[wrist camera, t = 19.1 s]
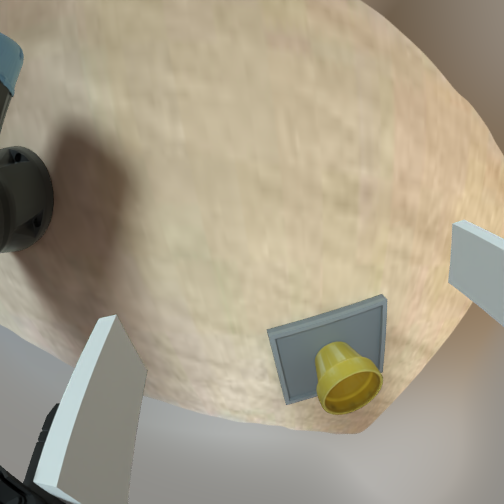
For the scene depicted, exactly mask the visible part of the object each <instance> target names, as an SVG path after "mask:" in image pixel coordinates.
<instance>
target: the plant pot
mask: <svg viewBox="0 0 504 504" xmlns="http://www.w3.org/2000/svg"><path fill="white" fill-rule="evenodd" d="M315 366H316V372H317V378H318V384H317V388H316V391H317V395H318V398H319V401H320V403H321V405H322V407H323V409H324V410H325V411H326V412H328V413H330V414H334V415H342V414H347V413H351V412H353V411H356V410H358V409H360V408H362V407H363V406H365V405H366V404H368V403H369V402H370V401H371V400H372V399H373V398H374V397H375V396H376V395H377V394H378V393H379V391H380V389H381V387H382V384H383V377H382V374H381V373H380V371H379V370H378V368H377V367H376V365H375V364H374V363H373V362H372V361H371V360H370V359H368V358H366V357H362V356H361V355H360V354H358V353H357V352H356V351H355V350H354V349H353V348H351V347H350V346H349V345H348V344H347V343H345V342H341V341H337V342H332V343H329V344H327V345H326V346H324V347H323V348H322V349H320V351H319V352H318V353H317V355H316V357H315Z"/></svg>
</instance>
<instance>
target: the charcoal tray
mask: <svg viewBox="0 0 504 504" xmlns="http://www.w3.org/2000/svg"><path fill="white" fill-rule="evenodd" d="M386 320H387V299H386V298H385V297H384V296H383V295H382V294H381V295H378V296H375V297H372V298H369V299H366V300H364V301H361V302H358V303H355V304H352V305H349V306H345V307H342V308H339V309H336V310H333V311H330V312H326V313H323V314H320V315H317V316H313V317H310V318H307V319H303V320H300V321H296V322H293V323H289V324H286V325H282V326H278V327H275V328H271V329H267V333H268V336H269V340H270V344H271V348H272V352H273V356H274V360H275V364H276V368H277V372H278V376H279V380H280V383H281V387H282V391H283V395H284V399H285V402H286V405H288V404H292V403H296V402H299V401H302V400H306V399H309V398H312V397H316V396H318V395H317V391H316V388H317V384H318V378H317V372H316V366H315V357H316V355H317V353H318V352H319V351H320V349H322V348H323V347H324V346H326V345H327V344H329V343H332V342H337V341H341V342H345V343H347V344H348V345H349V346H350V347H351V348H353V349H354V350H355V351H356V352H357V353H358V354H360V355H361V356H362V357H366V358H368V359H370V360H371V361H372V362H373V363H374V364H375V365H376V367H377V368H378V370H379V371H380V373H382V372H383V363H384V351H385V338H386Z"/></svg>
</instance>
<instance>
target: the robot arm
mask: <svg viewBox="0 0 504 504" xmlns="http://www.w3.org/2000/svg"><path fill="white" fill-rule="evenodd" d="M23 60H24V55H23V51H22V49H21V48H20V46H19V45H18V44H17V43H16V42H15V41H13V40H12V39H11V38H9V37H7V36H6V35H4V34H2V33H0V133H1V129H2V125H3V122H4V119H5V116H6V112H7V109H8V106H9V103H10V100H11V98H12V97H13V96H14V88H15V84H16V81H17V79H18V76H19V73H20V70H21V68H22V65H23ZM52 211H53V189H52V184H51V180H50V177H49V174H48V171H47V169H46V167H45V165H44V164H43V162H42V161H41V159H40V158H39V157H38V156H37V155H36V154H35V153H34V152H32V151H31V150H29V149H27V148H25V147H21V146H13V147H7V148H3V149H0V253H5V252H13V251H20V250H23V249H25V248H28V247H29V246H31V245H32V244H33V243H35V242H36V241H37V240H39V239H40V238H41V237H42V235H43V234H44V233H45V231H46V229H47V227H48V225H49V223H50V220H51V216H52ZM448 283H450V284H451V285H452V286H454V287H455V288H456V289H458V290H459V291H460V292H462V293H463V294H464V295H465V296H467V297H468V298H469V299H470V300H472V301H473V302H474V303H476V304H477V305H478V306H479V307H481V308H482V309H483V310H484V311H485V312H487V313H488V314H489V315H490V316H491V317H493V318H494V319H495V320H496V321H497V322H499V323H500V324H501V325H502V326H503V327H504V239H503V238H501V237H499V236H497V235H495V234H493V233H491V232H489V231H487V230H485V229H483V228H481V227H479V226H476V225H474V224H472V223H470V222H468V221H466V220H462V221H459V222H456V223H453V224H452V245H451V259H450V270H449V280H448ZM147 371H148V370H147V369H146V367H145V365H144V364H143V362H142V360H141V359H140V357H139V355H138V353H137V352H136V350H135V348H134V346H133V344H132V343H131V341H130V339H129V337H128V335H127V333H126V331H125V330H124V328H123V326H122V324H121V322H120V320H119V318H118V316H117V314H116V315H112V316H107V317H103V318H99V320H98V321H97V323H96V325H95V327H94V329H93V331H92V333H91V335H90V337H89V339H88V342H87V344H86V346H85V348H84V350H83V352H82V354H81V356H80V358H79V360H78V363H77V365H76V367H75V369H74V372H73V374H72V376H71V378H70V381H69V383H68V385H67V388H66V390H65V392H64V395H63V397H62V400H61V402H60V403H59V404H56V405H55V406H54V408H53V409H52V410H51V411H50V413H49V414H48V415H47V417H46V420H45V422H44V425H43V427H42V430H43V431H42V432H41V433H40V436H39V438H38V441H39V442H37V443H36V446H35V449H34V452H33V455H32V458H31V461H30V464H29V467H28V470H27V473H26V477H25V480H24V482H23V483H21V482H20V481H19V480H18V479H16V478H15V477H14V476H12V475H11V474H10V473H9V472H8V471H6V470H5V469H4V468H2V467H1V466H0V504H128V497H129V486H130V478H131V469H132V461H133V454H134V446H135V440H136V432H137V427H138V420H139V414H140V408H141V403H142V397H143V392H144V386H145V381H146V376H147Z"/></svg>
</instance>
